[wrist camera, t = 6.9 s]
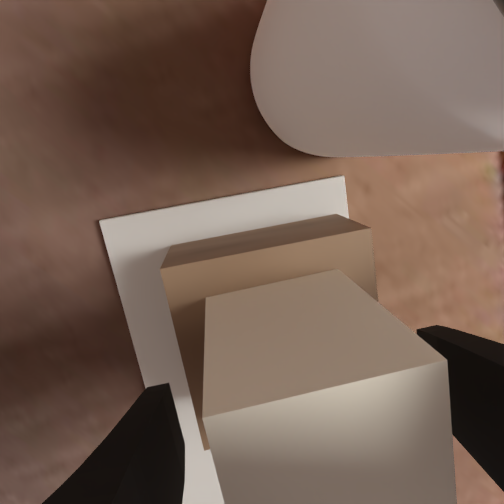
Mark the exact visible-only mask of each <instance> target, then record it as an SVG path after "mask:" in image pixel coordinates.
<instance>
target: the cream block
mask: <svg viewBox="0 0 504 504" xmlns="http://www.w3.org/2000/svg"><path fill="white" fill-rule="evenodd" d="M202 419H203V423H204V427H205V431H206V434H207V438H208V442H209V446H210V450H211V454H212V457H213V461H214V465H215V469H216V473H217V476H218V480H219V484H220V488H221V492H222V496H223V499H224V503H225V504H457V500H456V484H455V469H454V454H453V439H452V424H451V409H450V394H449V378H448V363H447V359H446V358H444V357H443V356H442V355H441V354H440V353H438V352H437V351H436V350H435V349H434V348H432V347H431V346H430V345H429V344H428V343H426V342H425V341H424V340H423V339H422V338H420V337H419V336H418V335H417V334H416V333H414V332H413V331H412V330H411V329H410V328H408V327H407V326H406V325H405V324H404V323H402V322H401V321H400V320H399V319H398V318H396V317H395V316H394V315H393V314H392V313H390V312H389V311H388V310H387V309H386V308H384V307H383V306H382V305H381V304H380V303H378V302H377V301H376V300H375V299H374V298H372V297H371V296H370V295H369V294H368V293H366V292H365V291H364V290H363V289H362V288H360V287H359V286H358V285H357V284H356V283H354V282H353V281H352V280H351V279H350V278H348V277H347V276H346V275H345V274H344V273H342V272H341V271H340V270H339V269H334V270H330V271H325V272H321V273H316V274H311V275H307V276H302V277H298V278H293V279H289V280H284V281H279V282H275V283H270V284H266V285H261V286H257V287H252V288H247V289H243V290H238V291H234V292H229V293H225V294H220V295H215V296H211V297H206V306H205V340H204V375H203V410H202Z"/></svg>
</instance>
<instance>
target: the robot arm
mask: <svg viewBox="0 0 504 504" xmlns="http://www.w3.org/2000/svg"><path fill="white" fill-rule="evenodd" d="M417 335H418V336H419V337H420V338H422V339H423V340H424V341H425V342H426V343H428V344H429V345H430V346H431V347H432V348H434V349H435V350H436V351H437V352H438V353H440V354H441V355H442V356H443V357H444V358H446V359H447V363H448V378H449V394H450V409H451V424H452V434H453V435H454V436H455V438H456V439H457V440H458V441H459V442H460V443H461V444H462V446H463V447H464V448H465V449H466V450H467V451H468V452H469V453H470V454H471V456H472V457H473V458H474V459H475V460H476V461H477V462H478V463H479V465H480V466H481V467H482V468H483V469H484V470H485V471H486V472H487V474H488V475H489V476H490V477H491V478H492V479H493V480H494V481H495V482H496V484H497V485H498V486H499V487H500V488H501V489H502V490H503V491H504V344H501V343H498V342H495V341H492V340H488V339H485V338H482V337H479V336H475V335H472V334H469V333H466V332H462V331H459V330H455V329H452V328H448V327H444V326H439V325H435V326H430V327H426V328H421V329H417ZM184 483H185V442H184V438H183V434H182V430H181V427H180V423H179V419H178V415H177V411H176V407H175V403H174V399H173V396H172V392H171V388H170V384H169V383H165V384H160V385H155V386H151V387H147V388H146V389H145V390H144V392H143V393H142V394H141V395H140V396H139V398H138V399H137V400H136V401H135V403H134V404H133V405H132V406H131V408H130V409H129V410H128V411H127V413H126V414H125V415H124V416H123V418H122V419H121V420H120V421H119V422H118V424H117V425H116V426H115V427H114V429H113V430H112V431H111V432H110V433H109V435H108V436H107V437H106V438H105V439H104V440H103V441H102V443H101V444H100V445H99V446H98V447H97V448H96V449H95V450H94V451H93V453H92V454H91V455H90V456H89V457H88V458H87V459H86V460H85V461H84V463H83V464H82V465H81V466H80V467H79V468H78V469H77V470H76V471H75V472H74V473H73V474H72V475H71V476H70V477H69V478H68V479H67V480H66V481H65V482H64V483H63V484H62V485H61V486H60V487H59V488H58V489H57V490H56V491H55V492H54V493H53V494H52V495H51V496H50V497H48V498H47V499H46V500H45V501H44V502H43V503H42V504H182V500H183V492H184Z"/></svg>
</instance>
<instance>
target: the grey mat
mask: <svg viewBox="0 0 504 504" xmlns="http://www.w3.org/2000/svg"><path fill="white" fill-rule="evenodd" d="M333 214H338V215H341V216H343V217H346V218H348V219H349V215H348V206H347V197H346V188H345V178H344V176H342V175H340V176H335V177H330V178H324V179H319V180H313V181H308V182H302V183H297V184H292V185H286V186H281V187H275V188H270V189H264V190H259V191H254V192H248V193H243V194H237V195H232V196H226V197H221V198H216V199H210V200H205V201H199V202H194V203H188V204H183V205H178V206H172V207H167V208H161V209H156V210H150V211H145V212H140V213H134V214H129V215H123V216H118V217H112V218H107V219H102V220H100V221H99V222H100V226H101V230H102V233H103V237H104V240H105V244H106V248H107V251H108V255H109V259H110V262H111V266H112V269H113V273H114V277H115V280H116V284H117V287H118V291H119V295H120V298H121V302H122V305H123V309H124V313H125V316H126V320H127V323H128V327H129V331H130V334H131V338H132V342H133V345H134V349H135V352H136V356H137V360H138V363H139V367H140V370H141V374H142V378H143V381H144V385H145V388H147V387H151V386H155V385H160V384H165V383H169V384H170V388H171V392H172V396H173V399H174V403H175V407H176V411H177V415H178V419H179V423H180V427H181V430H182V434H183V438H184V442H185V483H184V492H183V500H182V504H225V503H224V499H223V496H222V492H221V488H220V484H219V480H218V476H217V473H216V469H215V465H214V461H213V457H212V454H211V450H210V449H209V450H205V451H204V448H203V444H202V440H201V436H200V432H199V428H198V424H197V420H196V416H195V411H194V407H193V403H192V399H191V395H190V391H189V387H188V383H187V379H186V375H185V370H184V366H183V362H182V358H181V354H180V350H179V346H178V342H177V338H176V334H175V330H174V325H173V321H172V317H171V313H170V309H169V305H168V301H167V297H166V293H165V289H164V284H163V280H162V276H161V272H160V268H161V265H162V263H163V261H164V259H165V257H166V255H167V252H168V250H169V248H170V246H171V245H176V244H181V243H186V242H191V241H197V240H202V239H207V238H212V237H218V236H223V235H228V234H233V233H239V232H244V231H249V230H254V229H260V228H265V227H270V226H275V225H280V224H286V223H291V222H296V221H301V220H307V219H312V218H317V217H322V216H328V215H333Z"/></svg>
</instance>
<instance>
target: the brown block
mask: <svg viewBox="0 0 504 504" xmlns="http://www.w3.org/2000/svg"><path fill="white" fill-rule="evenodd" d="M334 269H339V270H340V271H341V272H342V273H344V274H345V275H346V276H347V277H348V278H350V279H351V280H352V281H353V282H354V283H356V284H357V285H358V286H359V287H360V288H362V289H363V290H364V291H365V292H366V293H368V294H369V295H370V296H371V297H372V298H374V299H375V300H376V301H377V302H378V294H377V284H376V273H375V262H374V252H373V241H372V230H371V228H370V227H368V226H365V225H363V224H360V223H358V222H355V221H353V220H351V219H348V218H346V217H343V216H341V215H338V214H333V215H328V216H322V217H317V218H312V219H307V220H301V221H296V222H291V223H286V224H280V225H275V226H270V227H265V228H260V229H254V230H249V231H244V232H239V233H233V234H228V235H223V236H218V237H212V238H207V239H202V240H197V241H191V242H186V243H181V244H176V245H171V246H170V248H169V250H168V252H167V255H166V257H165V259H164V261H163V263H162V265H161V268H160V272H161V276H162V280H163V284H164V289H165V293H166V297H167V301H168V305H169V309H170V313H171V317H172V321H173V325H174V330H175V334H176V338H177V342H178V346H179V350H180V354H181V358H182V362H183V366H184V370H185V375H186V379H187V383H188V387H189V391H190V395H191V399H192V403H193V407H194V411H195V416H196V420H197V424H198V428H199V432H200V436H201V440H202V444H203V448H204V451H205V450H209V449H210V446H209V442H208V438H207V434H206V431H205V427H204V423H203V419H202V410H203V375H204V340H205V306H206V297H211V296H215V295H220V294H225V293H229V292H234V291H238V290H243V289H247V288H252V287H257V286H261V285H266V284H270V283H275V282H279V281H284V280H289V279H293V278H298V277H302V276H307V275H311V274H316V273H321V272H325V271H330V270H334Z"/></svg>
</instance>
